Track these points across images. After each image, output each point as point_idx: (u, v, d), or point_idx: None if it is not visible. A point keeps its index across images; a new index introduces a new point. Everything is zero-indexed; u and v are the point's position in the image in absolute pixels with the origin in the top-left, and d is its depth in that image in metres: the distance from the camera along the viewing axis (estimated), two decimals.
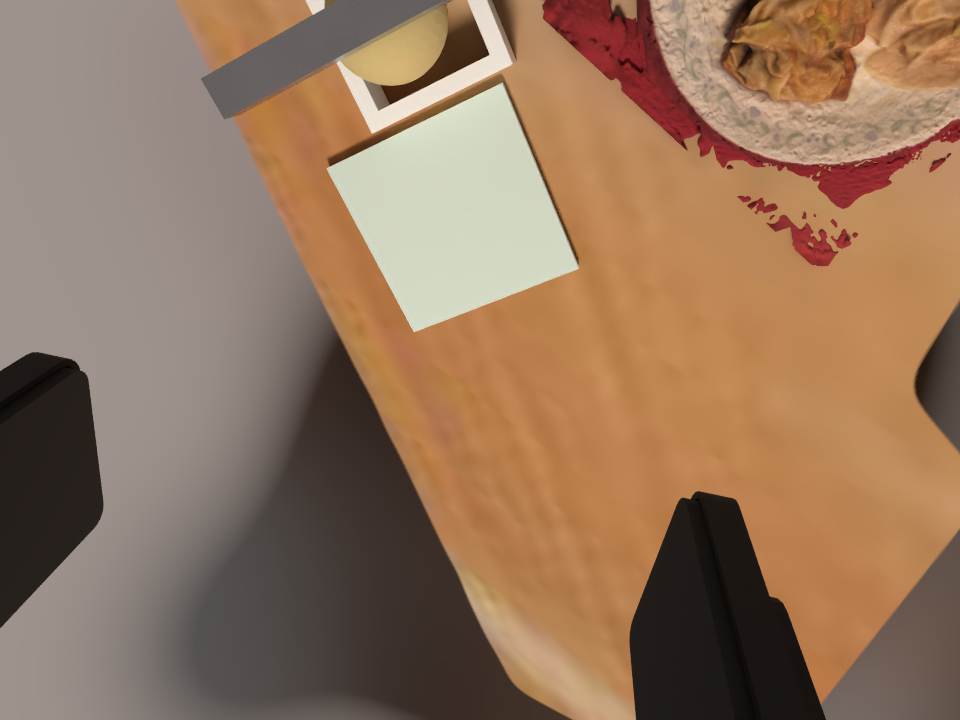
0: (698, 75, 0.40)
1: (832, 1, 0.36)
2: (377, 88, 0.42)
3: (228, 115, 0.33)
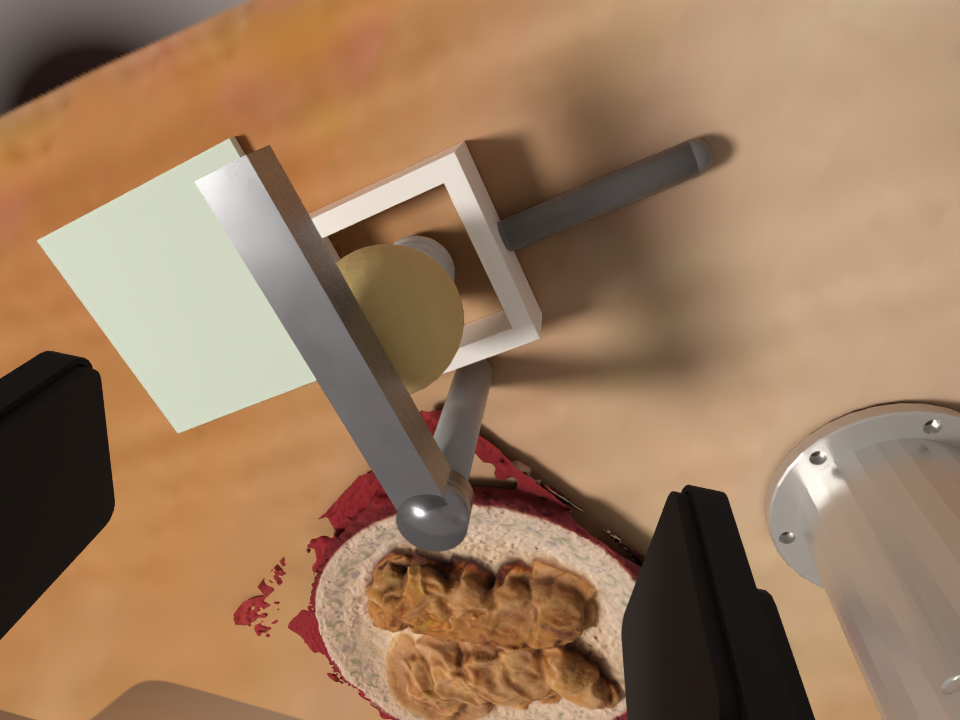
0: (380, 538, 0.42)
1: (442, 628, 0.43)
2: None
3: (201, 189, 0.21)
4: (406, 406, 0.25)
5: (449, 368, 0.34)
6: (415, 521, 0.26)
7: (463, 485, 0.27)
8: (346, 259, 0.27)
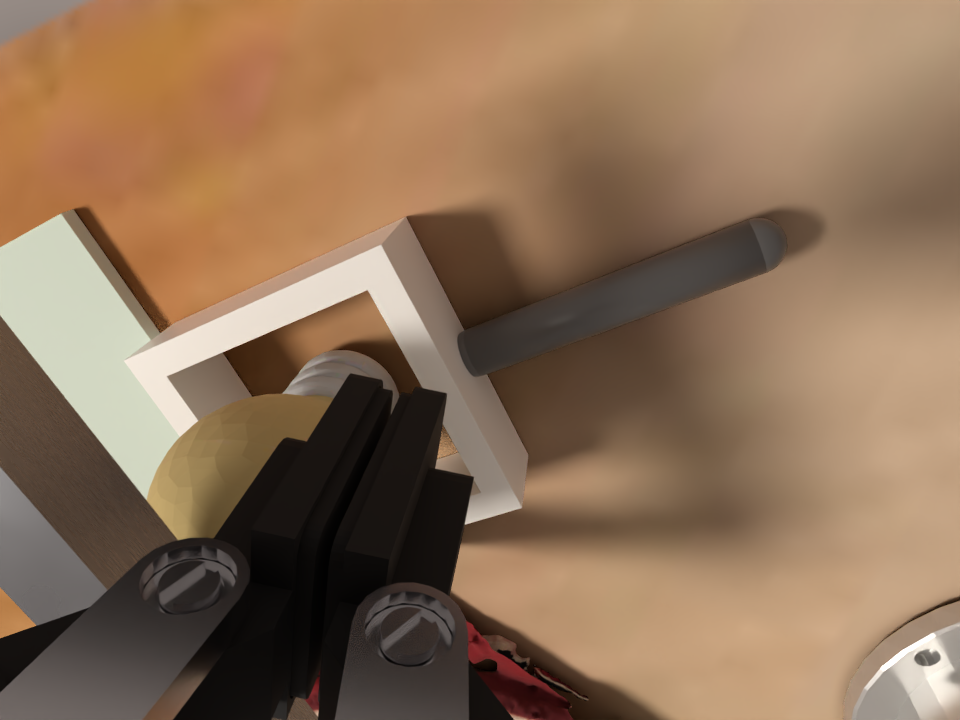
0: None
1: None
2: None
3: None
4: None
5: None
6: None
7: None
8: (195, 432, 0.16)
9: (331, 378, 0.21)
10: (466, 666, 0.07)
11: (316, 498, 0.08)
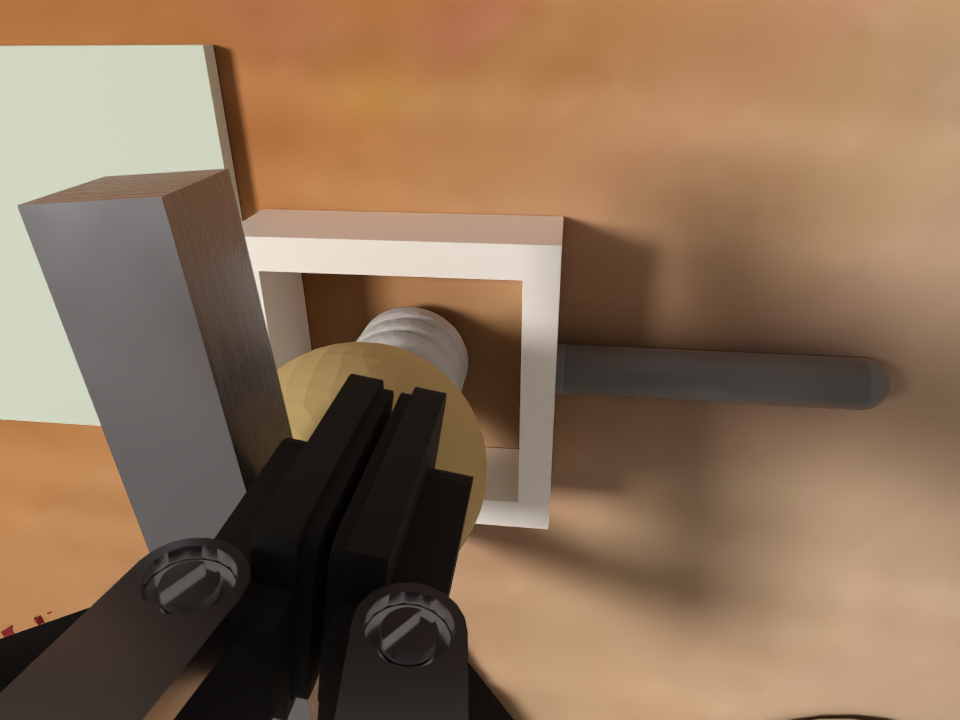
0: None
1: None
2: None
3: (28, 228, 0.09)
4: None
5: None
6: None
7: None
8: (335, 368, 0.15)
9: (429, 342, 0.20)
10: (465, 666, 0.07)
11: (317, 499, 0.08)
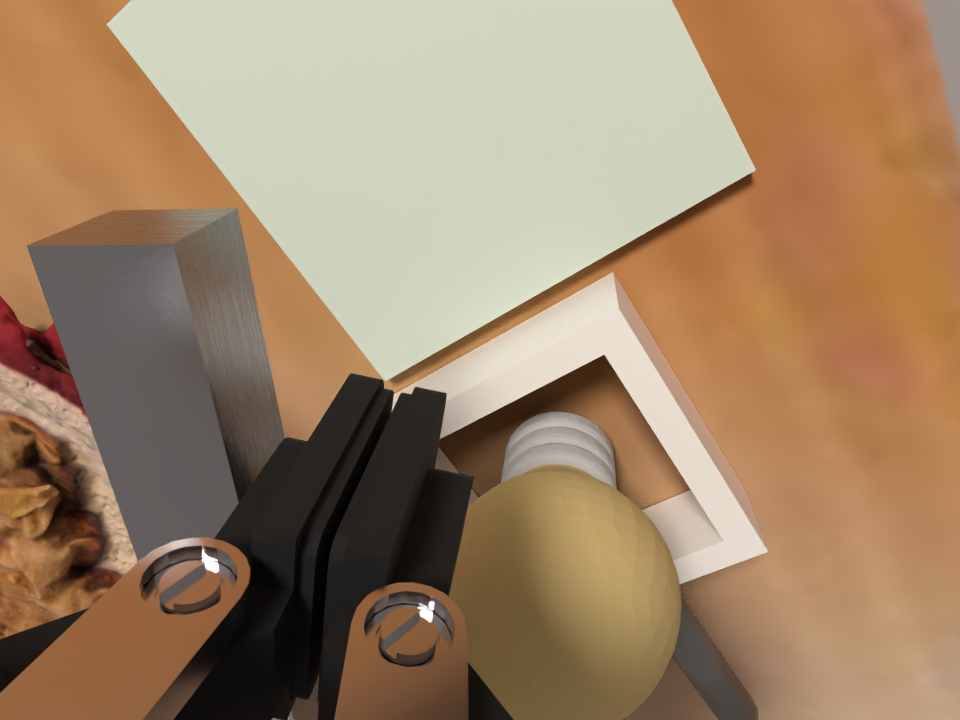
0: (76, 431, 0.24)
1: None
2: None
3: (38, 268, 0.09)
4: None
5: None
6: None
7: None
8: (666, 567, 0.16)
9: None
10: (466, 666, 0.07)
11: (318, 499, 0.08)
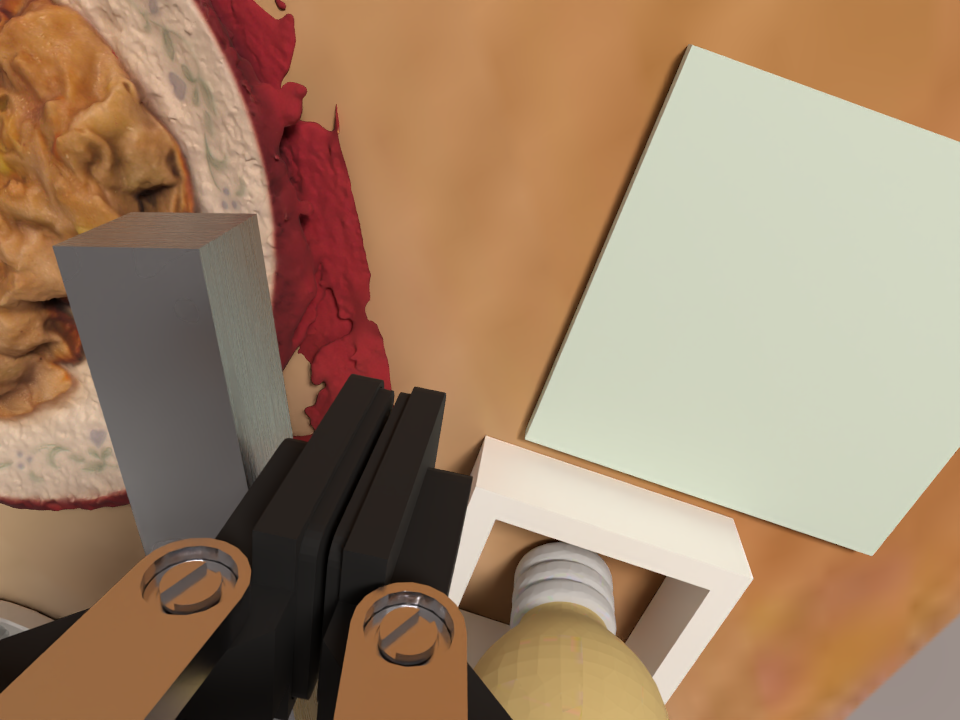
0: None
1: None
2: None
3: (62, 268, 0.09)
4: None
5: None
6: None
7: None
8: None
9: None
10: (465, 666, 0.07)
11: (319, 499, 0.08)
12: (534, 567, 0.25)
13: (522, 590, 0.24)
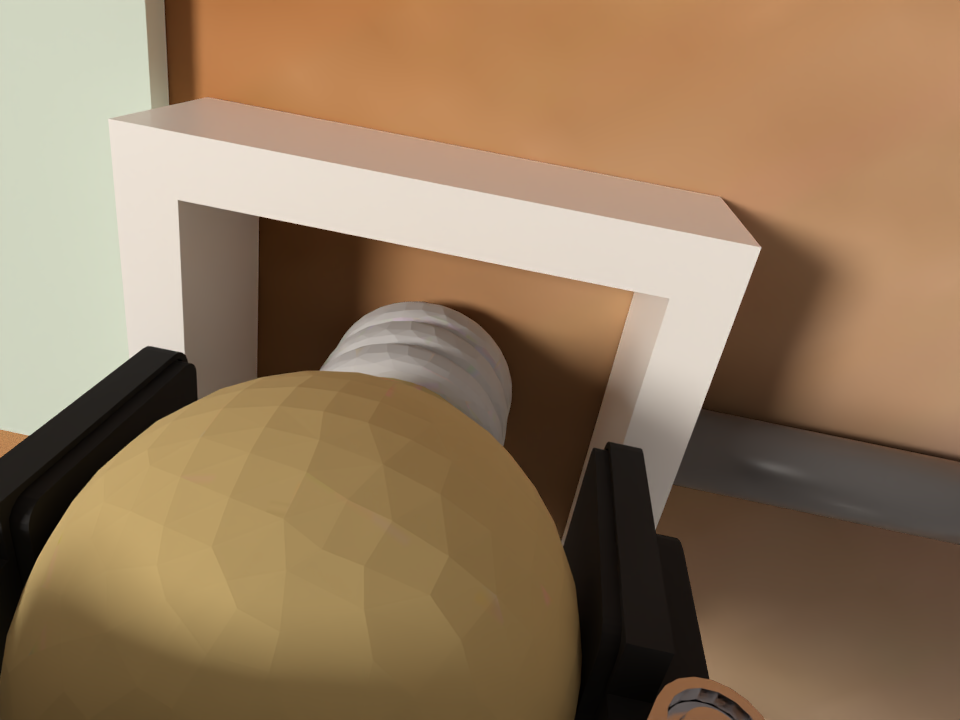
0: None
1: None
2: None
3: None
4: None
5: None
6: None
7: None
8: (306, 448, 0.06)
9: (466, 374, 0.11)
10: None
11: (43, 465, 0.08)
12: None
13: None
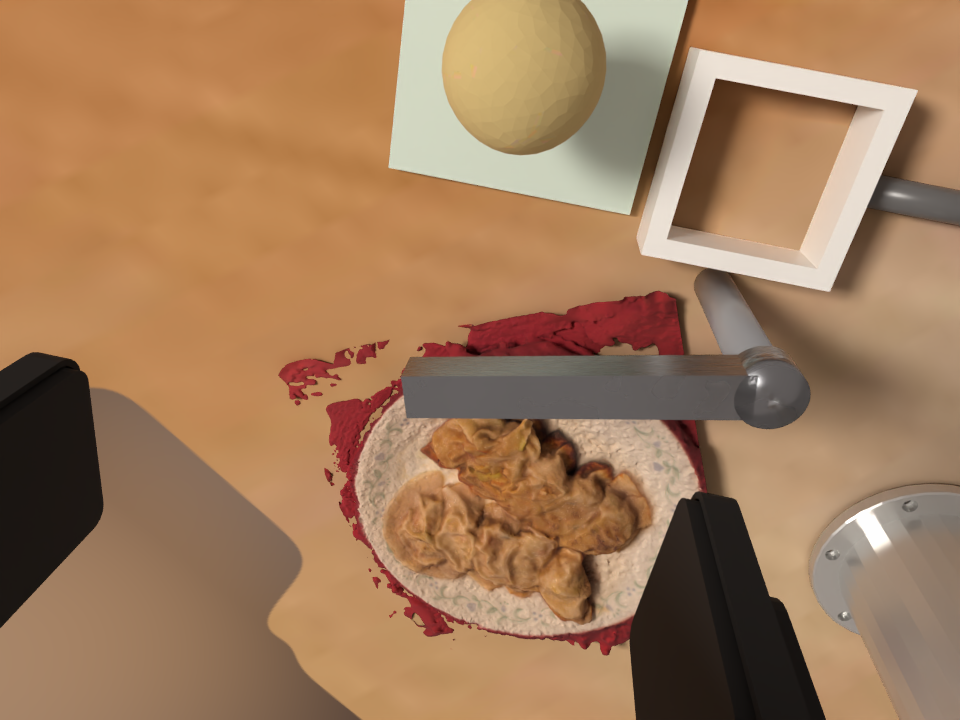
0: None
1: (503, 486, 0.43)
2: None
3: (413, 417, 0.29)
4: (650, 363, 0.27)
5: (734, 269, 0.34)
6: (761, 410, 0.26)
7: (756, 352, 0.27)
8: None
9: None
10: None
11: None
12: None
13: None
